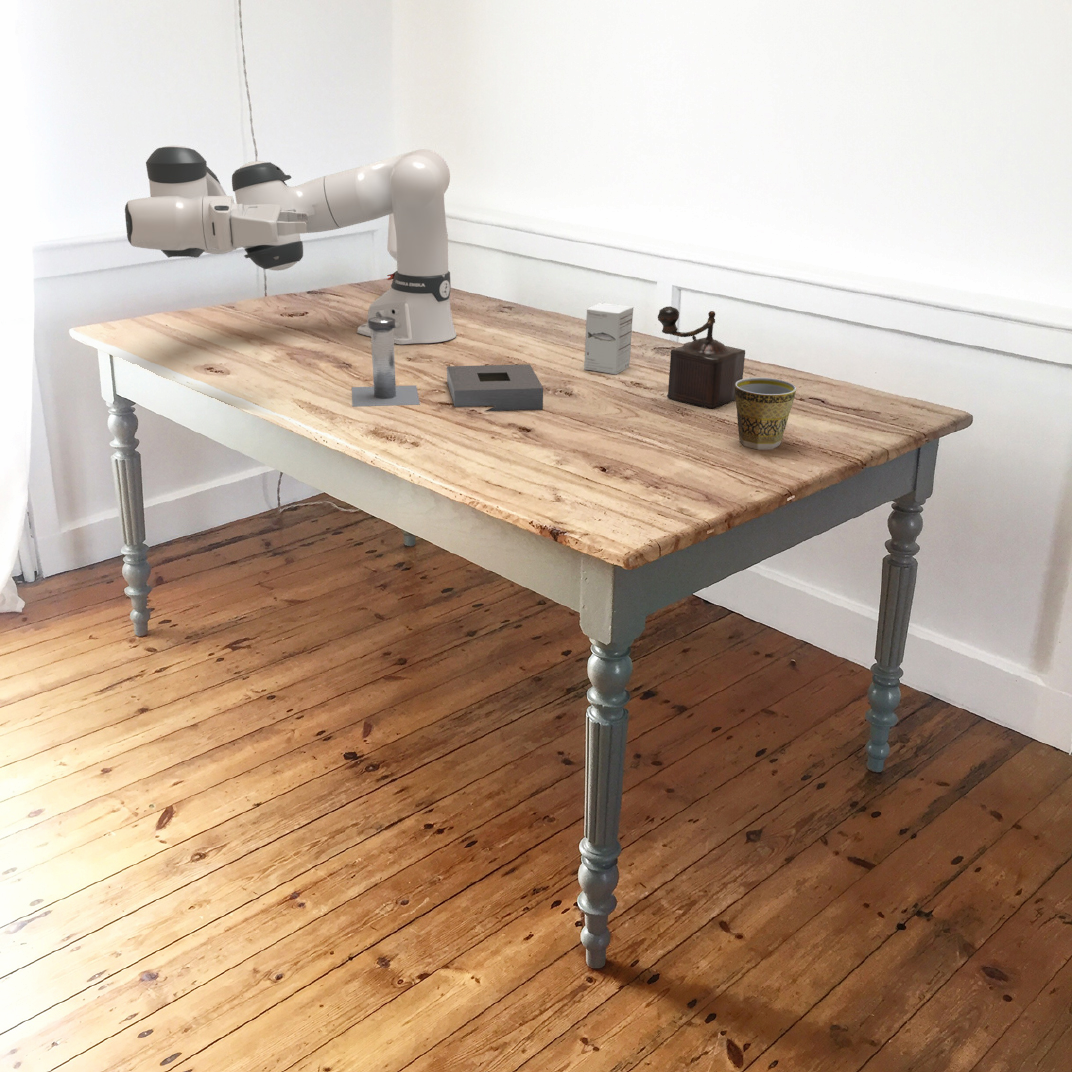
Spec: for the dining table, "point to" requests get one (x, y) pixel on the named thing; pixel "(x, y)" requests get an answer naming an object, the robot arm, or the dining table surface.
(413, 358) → the dining table surface
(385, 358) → the steel rivet
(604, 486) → the dining table surface
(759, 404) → the ceramic cup
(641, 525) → the dining table surface
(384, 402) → the rest pad
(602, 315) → the supplement box
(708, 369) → the manual coffee grinder
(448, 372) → the block
